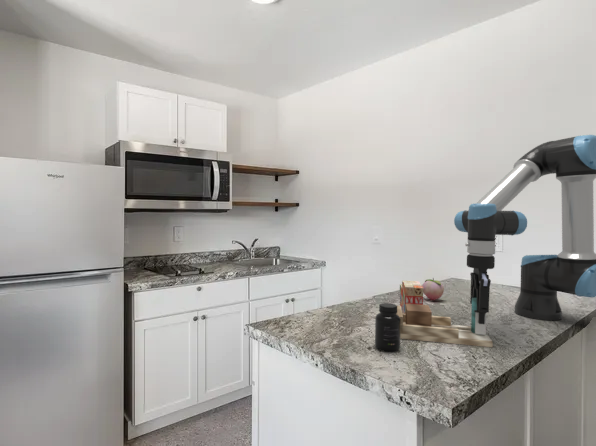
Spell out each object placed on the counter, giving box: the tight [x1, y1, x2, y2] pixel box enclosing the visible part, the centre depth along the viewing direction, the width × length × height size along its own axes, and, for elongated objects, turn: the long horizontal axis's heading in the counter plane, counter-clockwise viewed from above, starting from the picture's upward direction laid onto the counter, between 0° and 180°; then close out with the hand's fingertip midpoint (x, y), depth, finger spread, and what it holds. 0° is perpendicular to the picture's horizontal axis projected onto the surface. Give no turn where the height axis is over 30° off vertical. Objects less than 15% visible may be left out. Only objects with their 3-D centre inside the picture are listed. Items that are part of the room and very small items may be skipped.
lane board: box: [396, 305, 494, 348], centre depth 112 cm, size 26×14×6 cm, turn 77°
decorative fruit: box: [421, 277, 445, 301], centre depth 159 cm, size 9×8×10 cm
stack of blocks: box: [399, 280, 424, 314], centre depth 137 cm, size 21×6×12 cm, turn 169°
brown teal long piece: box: [405, 298, 477, 333], centre depth 112 cm, size 23×9×10 cm, turn 77°
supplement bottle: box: [374, 302, 401, 353], centre depth 100 cm, size 7×7×12 cm
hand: (478, 331), depth 110 cm, fingers closed on brown teal long piece, 4 cm apart
